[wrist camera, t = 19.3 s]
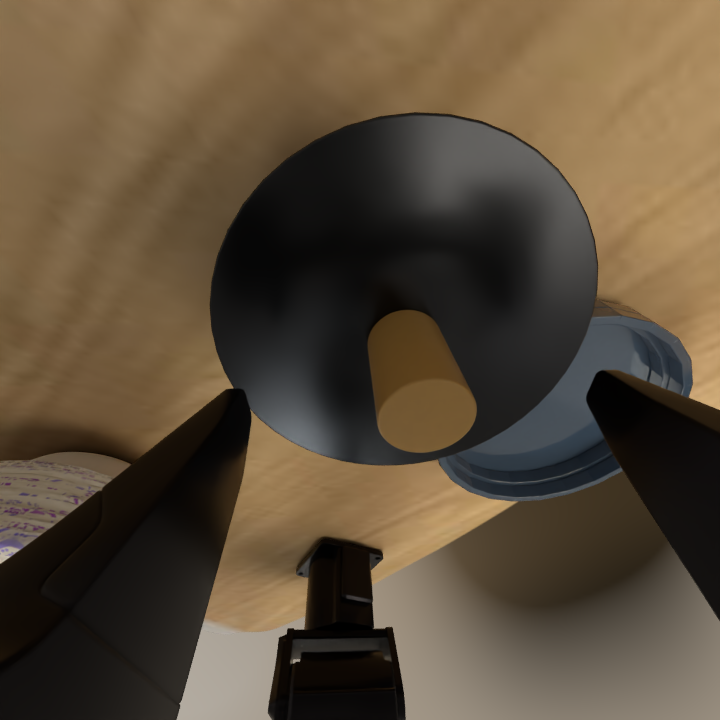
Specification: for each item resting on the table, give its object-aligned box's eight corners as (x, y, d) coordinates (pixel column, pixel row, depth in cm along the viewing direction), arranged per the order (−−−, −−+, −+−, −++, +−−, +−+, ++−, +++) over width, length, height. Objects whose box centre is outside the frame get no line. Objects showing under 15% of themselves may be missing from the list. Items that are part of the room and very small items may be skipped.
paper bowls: (26, 540, 29) (-67, 660, 22) (-56, 406, 21) (-240, 532, 14) (212, 550, 31) (177, 661, 25) (203, 432, 23) (147, 551, 16)
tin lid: (438, 475, 17) (468, 579, 13) (181, 388, 13) (113, 496, 9) (658, 253, 11) (833, 319, 7) (310, -9, 7) (275, -171, 3)
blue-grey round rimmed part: (538, 492, 29) (553, 520, 27) (385, 437, 24) (390, 466, 22) (708, 359, 22) (747, 382, 20) (537, 247, 17) (564, 263, 15)
